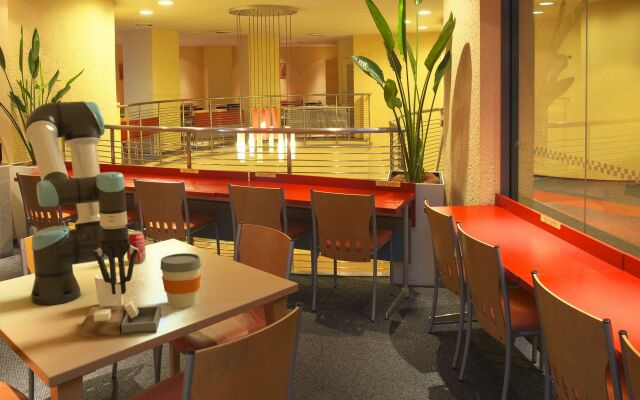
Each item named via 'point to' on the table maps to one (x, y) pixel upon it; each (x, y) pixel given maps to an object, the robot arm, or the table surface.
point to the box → (142, 321)
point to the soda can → (137, 241)
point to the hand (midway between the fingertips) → (120, 304)
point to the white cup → (105, 291)
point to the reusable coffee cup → (181, 279)
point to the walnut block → (104, 322)
